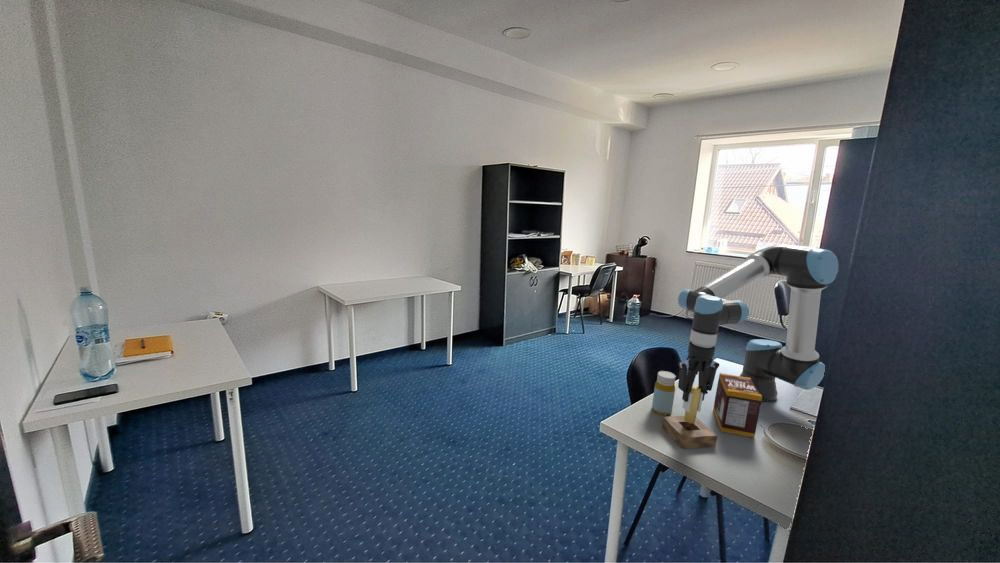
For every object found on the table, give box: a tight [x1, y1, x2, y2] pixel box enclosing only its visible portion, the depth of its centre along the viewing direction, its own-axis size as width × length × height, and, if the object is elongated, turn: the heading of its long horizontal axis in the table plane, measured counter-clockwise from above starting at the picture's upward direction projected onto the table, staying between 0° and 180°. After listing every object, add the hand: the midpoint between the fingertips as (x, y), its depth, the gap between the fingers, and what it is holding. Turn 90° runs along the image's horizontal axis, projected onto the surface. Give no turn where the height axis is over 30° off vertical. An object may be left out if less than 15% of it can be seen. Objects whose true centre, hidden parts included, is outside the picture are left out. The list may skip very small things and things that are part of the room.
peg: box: [683, 385, 701, 423], centre depth 129 cm, size 3×3×12 cm
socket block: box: [661, 415, 718, 449], centre depth 131 cm, size 12×12×4 cm
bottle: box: [651, 370, 677, 416], centre depth 145 cm, size 7×7×15 cm
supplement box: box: [713, 372, 763, 438], centre depth 139 cm, size 10×15×16 cm
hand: (691, 409), depth 129 cm, fingers closed on peg, 3 cm apart
